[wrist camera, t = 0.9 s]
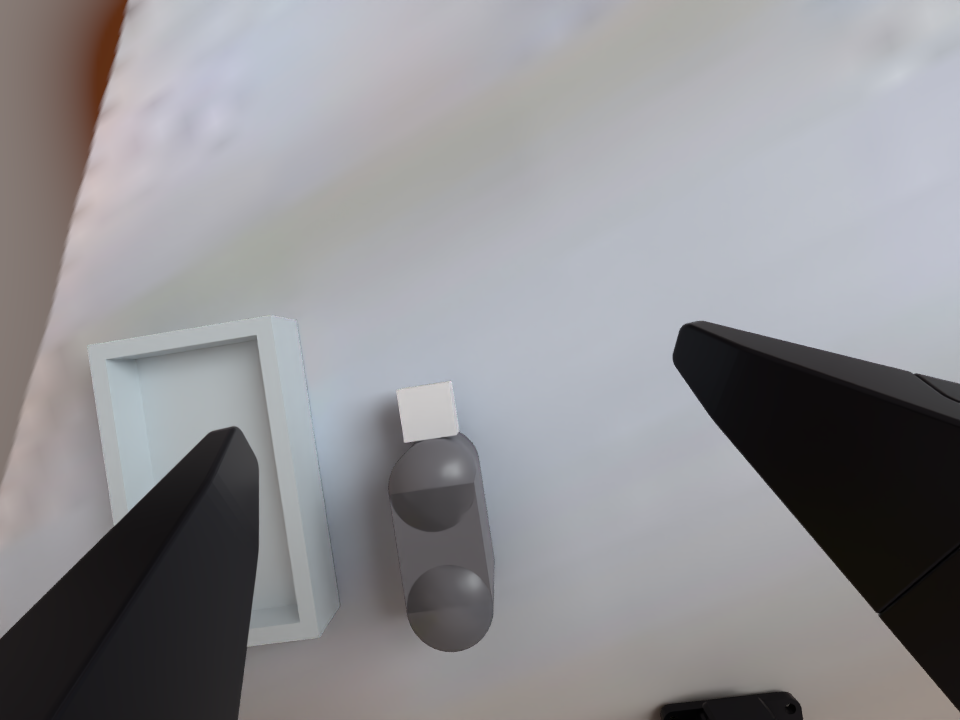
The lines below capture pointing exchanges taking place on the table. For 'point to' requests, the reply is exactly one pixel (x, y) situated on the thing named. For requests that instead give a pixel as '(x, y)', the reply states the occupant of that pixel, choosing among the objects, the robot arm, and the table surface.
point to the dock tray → (215, 405)
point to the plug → (441, 523)
